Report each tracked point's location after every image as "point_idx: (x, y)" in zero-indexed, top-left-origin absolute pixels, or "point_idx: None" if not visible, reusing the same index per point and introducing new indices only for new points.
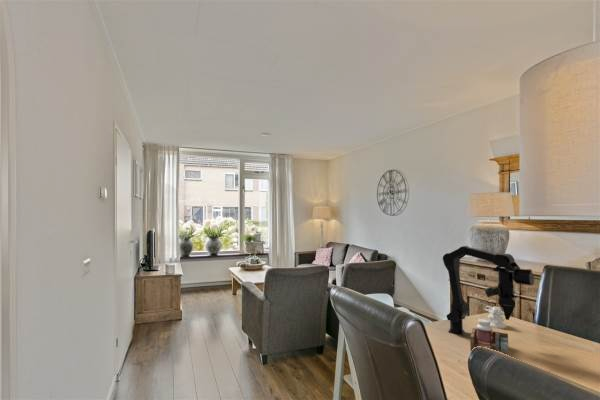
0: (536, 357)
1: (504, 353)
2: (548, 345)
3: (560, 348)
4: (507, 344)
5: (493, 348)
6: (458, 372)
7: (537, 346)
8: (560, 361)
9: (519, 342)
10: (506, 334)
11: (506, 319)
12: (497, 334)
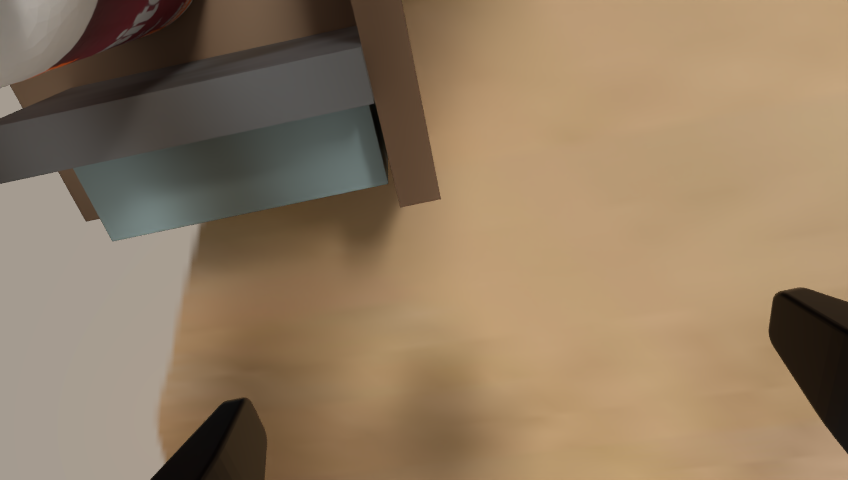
0: (318, 367)
1: (69, 186)
2: (694, 381)
3: (665, 442)
4: (123, 238)
5: (114, 49)
6: None
7: (616, 331)
8: (367, 474)
9: (644, 200)
10: (397, 190)
11: (230, 409)
12: (213, 110)
